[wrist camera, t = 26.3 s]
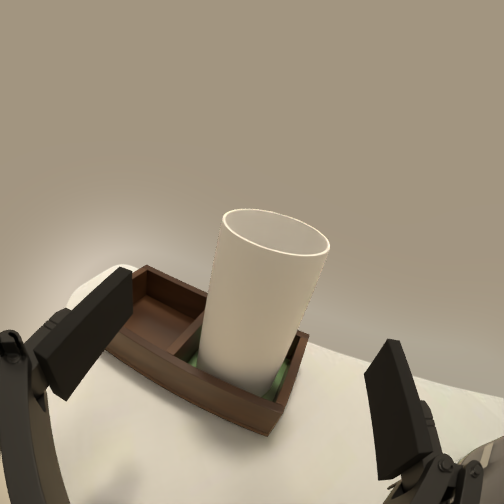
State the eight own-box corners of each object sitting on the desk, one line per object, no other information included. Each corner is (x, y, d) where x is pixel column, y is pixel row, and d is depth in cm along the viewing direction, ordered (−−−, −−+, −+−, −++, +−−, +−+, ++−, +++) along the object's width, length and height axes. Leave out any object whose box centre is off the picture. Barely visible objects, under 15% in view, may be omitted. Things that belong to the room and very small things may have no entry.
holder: (267, 436, 21) (282, 414, 19) (87, 335, 26) (81, 304, 24) (296, 361, 31) (309, 334, 29) (145, 292, 36) (146, 264, 34)
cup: (198, 338, 30) (222, 202, 23) (267, 346, 31) (312, 220, 25) (194, 398, 23) (221, 243, 16) (278, 403, 24) (347, 264, 17)
